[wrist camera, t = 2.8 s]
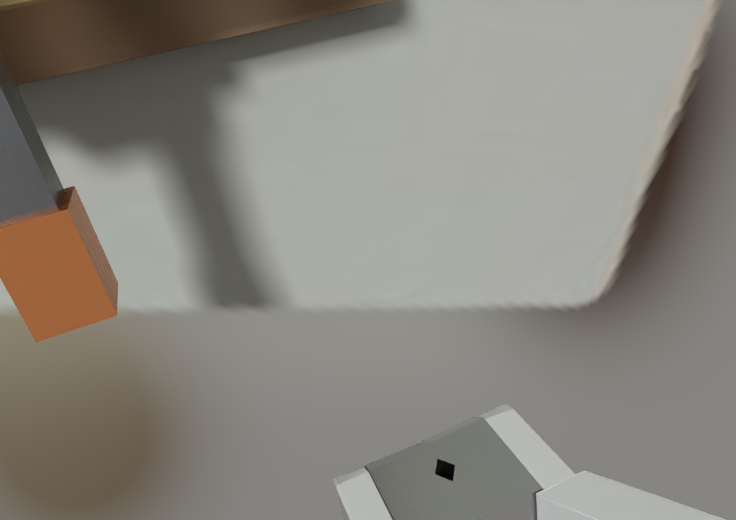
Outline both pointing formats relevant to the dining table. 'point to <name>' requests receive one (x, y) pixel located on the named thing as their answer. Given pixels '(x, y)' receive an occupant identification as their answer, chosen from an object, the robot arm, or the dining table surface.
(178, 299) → the dining table surface
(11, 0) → the valve pipe
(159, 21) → the base board
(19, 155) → the valve lever
